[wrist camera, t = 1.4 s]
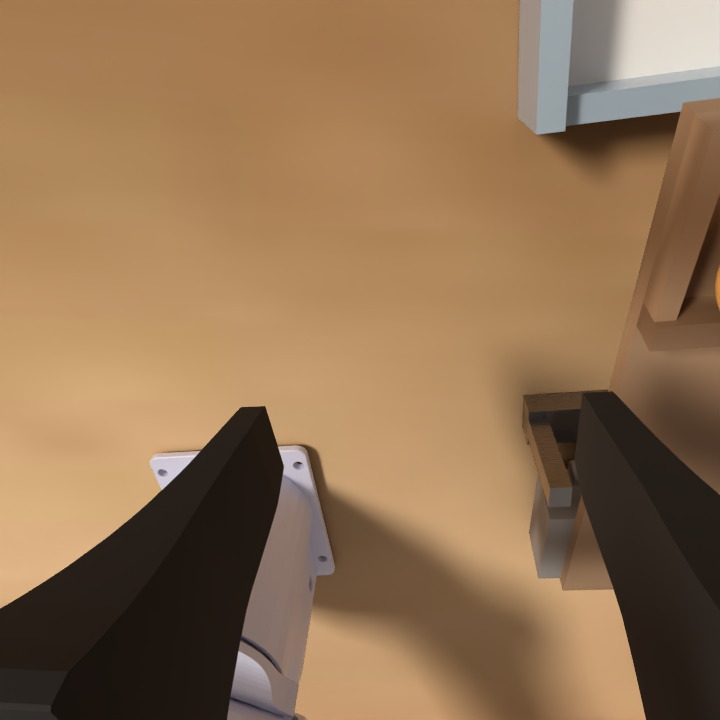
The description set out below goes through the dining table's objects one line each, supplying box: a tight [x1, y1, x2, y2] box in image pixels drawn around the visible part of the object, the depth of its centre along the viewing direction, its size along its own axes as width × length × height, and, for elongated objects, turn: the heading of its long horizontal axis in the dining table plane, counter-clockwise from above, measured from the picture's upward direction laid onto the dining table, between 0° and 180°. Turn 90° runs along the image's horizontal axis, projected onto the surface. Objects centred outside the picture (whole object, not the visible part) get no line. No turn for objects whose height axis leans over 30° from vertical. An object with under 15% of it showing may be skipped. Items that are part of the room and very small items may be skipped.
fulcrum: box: [522, 390, 608, 507], centre depth 22 cm, size 2×8×5 cm, turn 98°
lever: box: [529, 98, 720, 590], centre depth 18 cm, size 22×7×4 cm, turn 7°
